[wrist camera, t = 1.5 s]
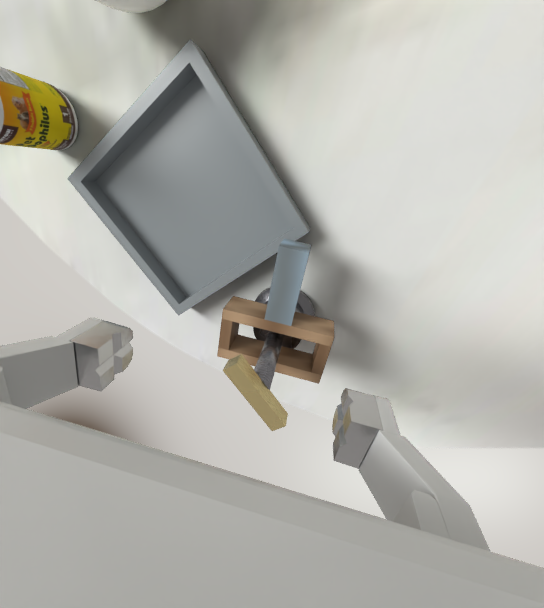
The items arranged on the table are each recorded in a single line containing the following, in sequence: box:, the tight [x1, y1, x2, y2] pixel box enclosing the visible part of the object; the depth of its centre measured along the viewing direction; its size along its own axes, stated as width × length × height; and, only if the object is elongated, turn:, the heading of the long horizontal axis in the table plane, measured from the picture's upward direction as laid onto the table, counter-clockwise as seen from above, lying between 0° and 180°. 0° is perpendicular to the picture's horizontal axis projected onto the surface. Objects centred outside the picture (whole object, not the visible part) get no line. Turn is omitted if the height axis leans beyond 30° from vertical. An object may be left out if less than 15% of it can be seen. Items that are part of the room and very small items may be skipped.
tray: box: [68, 39, 310, 315], centre depth 27 cm, size 17×17×2 cm
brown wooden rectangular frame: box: [217, 239, 334, 383], centre depth 26 cm, size 10×12×3 cm
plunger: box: [223, 287, 315, 431], centre depth 26 cm, size 7×7×14 cm
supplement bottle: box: [0, 67, 78, 150], centre depth 23 cm, size 6×6×10 cm
